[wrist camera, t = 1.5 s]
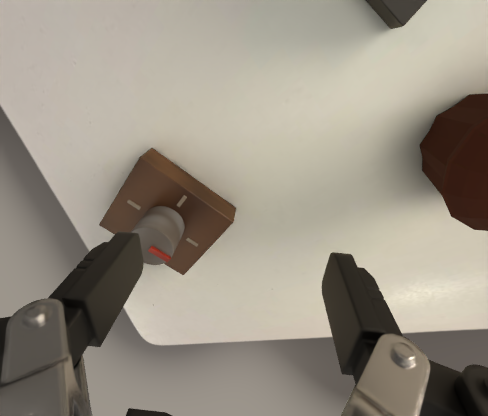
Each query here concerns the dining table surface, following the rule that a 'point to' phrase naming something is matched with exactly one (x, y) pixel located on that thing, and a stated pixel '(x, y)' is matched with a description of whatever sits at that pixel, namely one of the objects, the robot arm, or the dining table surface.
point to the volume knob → (159, 234)
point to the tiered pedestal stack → (396, 10)
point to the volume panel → (171, 206)
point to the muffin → (460, 159)
